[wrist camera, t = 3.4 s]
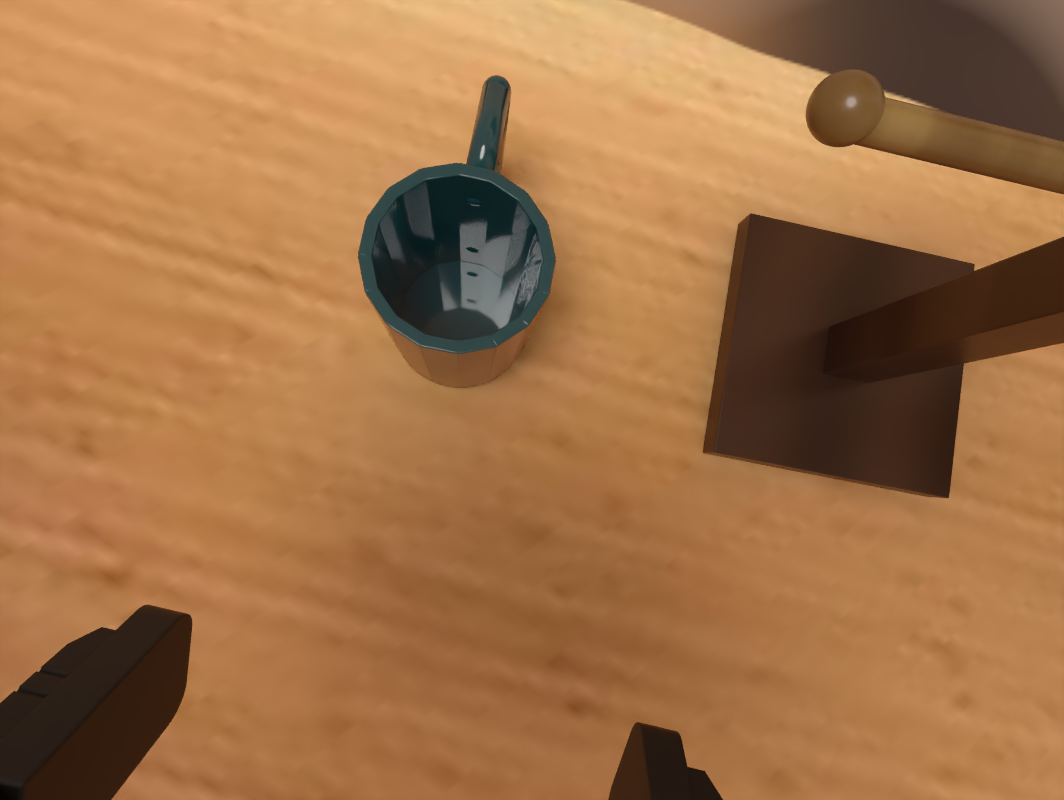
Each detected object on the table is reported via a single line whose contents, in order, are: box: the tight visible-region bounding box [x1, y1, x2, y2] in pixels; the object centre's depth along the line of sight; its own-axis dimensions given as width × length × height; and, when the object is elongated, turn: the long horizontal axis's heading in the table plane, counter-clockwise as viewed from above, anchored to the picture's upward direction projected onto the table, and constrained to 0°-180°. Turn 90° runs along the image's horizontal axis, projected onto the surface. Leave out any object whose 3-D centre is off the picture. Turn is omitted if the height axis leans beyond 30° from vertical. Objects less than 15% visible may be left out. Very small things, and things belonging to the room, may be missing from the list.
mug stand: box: [703, 69, 1064, 498], centre depth 23 cm, size 18×12×22 cm
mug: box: [358, 75, 556, 388], centre depth 27 cm, size 11×6×10 cm, turn 169°
